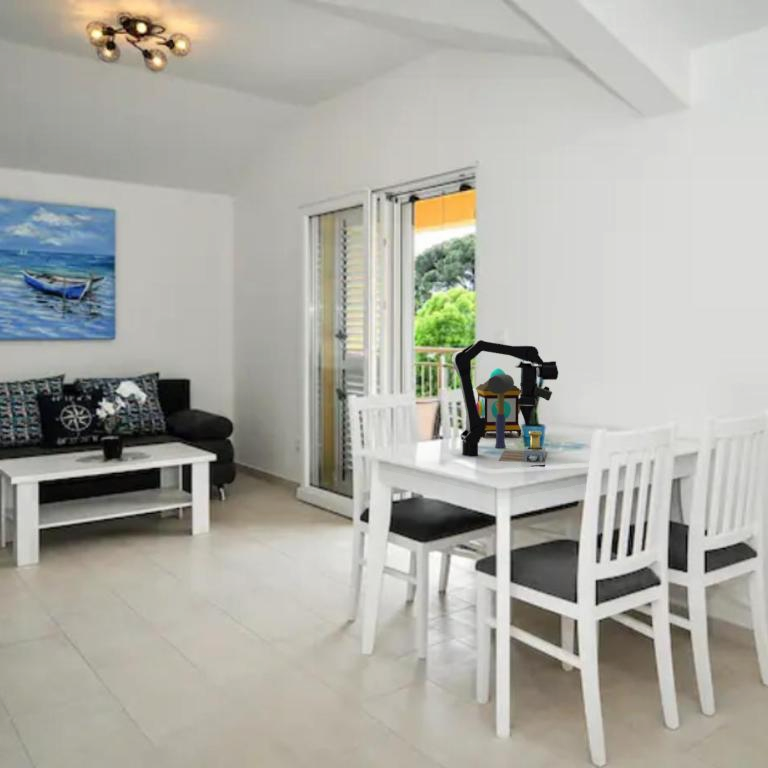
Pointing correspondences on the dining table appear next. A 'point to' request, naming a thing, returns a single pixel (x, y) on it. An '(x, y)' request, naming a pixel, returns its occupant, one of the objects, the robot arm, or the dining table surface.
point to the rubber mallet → (500, 404)
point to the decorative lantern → (490, 403)
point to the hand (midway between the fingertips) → (528, 422)
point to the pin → (535, 439)
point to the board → (517, 457)
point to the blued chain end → (534, 454)
